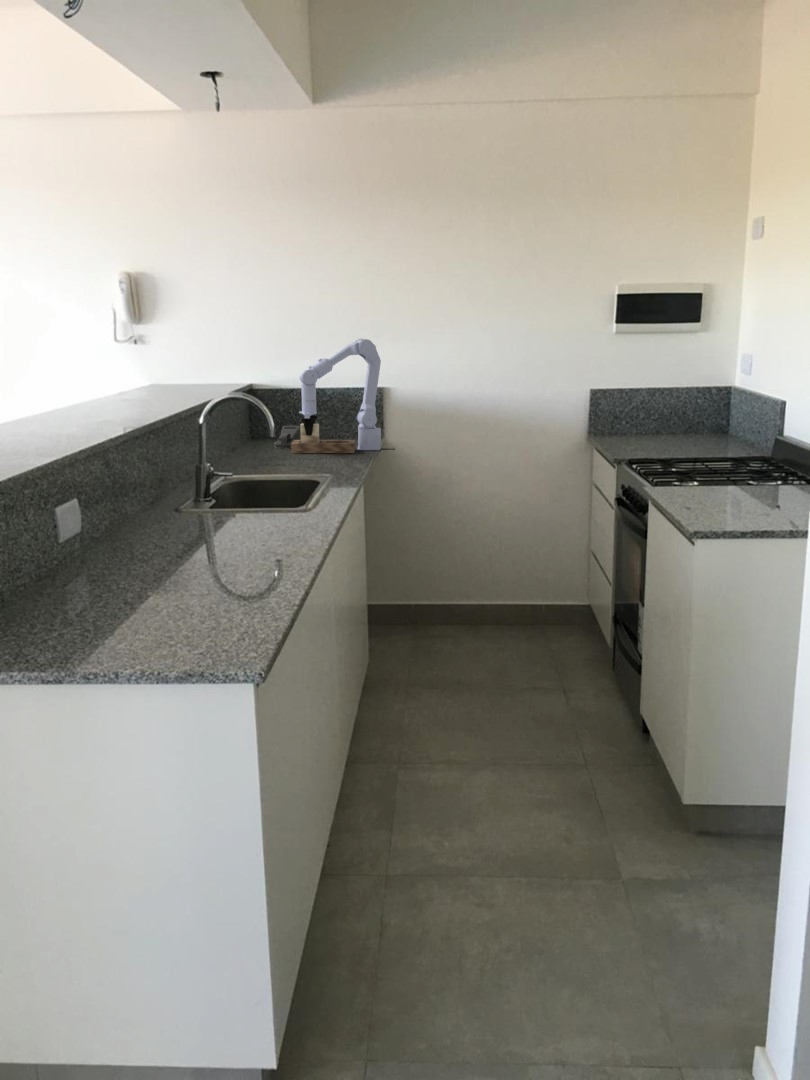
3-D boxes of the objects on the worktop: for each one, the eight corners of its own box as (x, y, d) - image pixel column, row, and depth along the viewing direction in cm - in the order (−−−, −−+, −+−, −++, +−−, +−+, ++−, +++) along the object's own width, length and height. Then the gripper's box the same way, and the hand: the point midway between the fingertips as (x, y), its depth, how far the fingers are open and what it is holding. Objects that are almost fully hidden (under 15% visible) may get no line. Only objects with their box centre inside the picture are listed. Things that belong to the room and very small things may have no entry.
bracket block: (319, 443, 368) (318, 423, 366) (318, 444, 364) (317, 424, 362) (302, 443, 368) (301, 423, 366) (300, 444, 364) (300, 424, 362)
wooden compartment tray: (355, 449, 371) (355, 440, 370) (354, 453, 361) (353, 443, 360) (294, 449, 371) (294, 439, 370) (291, 453, 362) (290, 443, 361)
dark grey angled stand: (302, 425, 397) (294, 432, 373) (302, 440, 398) (294, 449, 374) (281, 425, 397) (272, 432, 373) (282, 440, 399) (272, 449, 374)
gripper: (301, 398, 369) (302, 432, 372) (296, 402, 354) (297, 436, 358) (318, 398, 368) (319, 432, 372) (314, 402, 354) (315, 437, 358)
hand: (309, 434), depth 365 cm, fingers closed on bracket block, 4 cm apart
